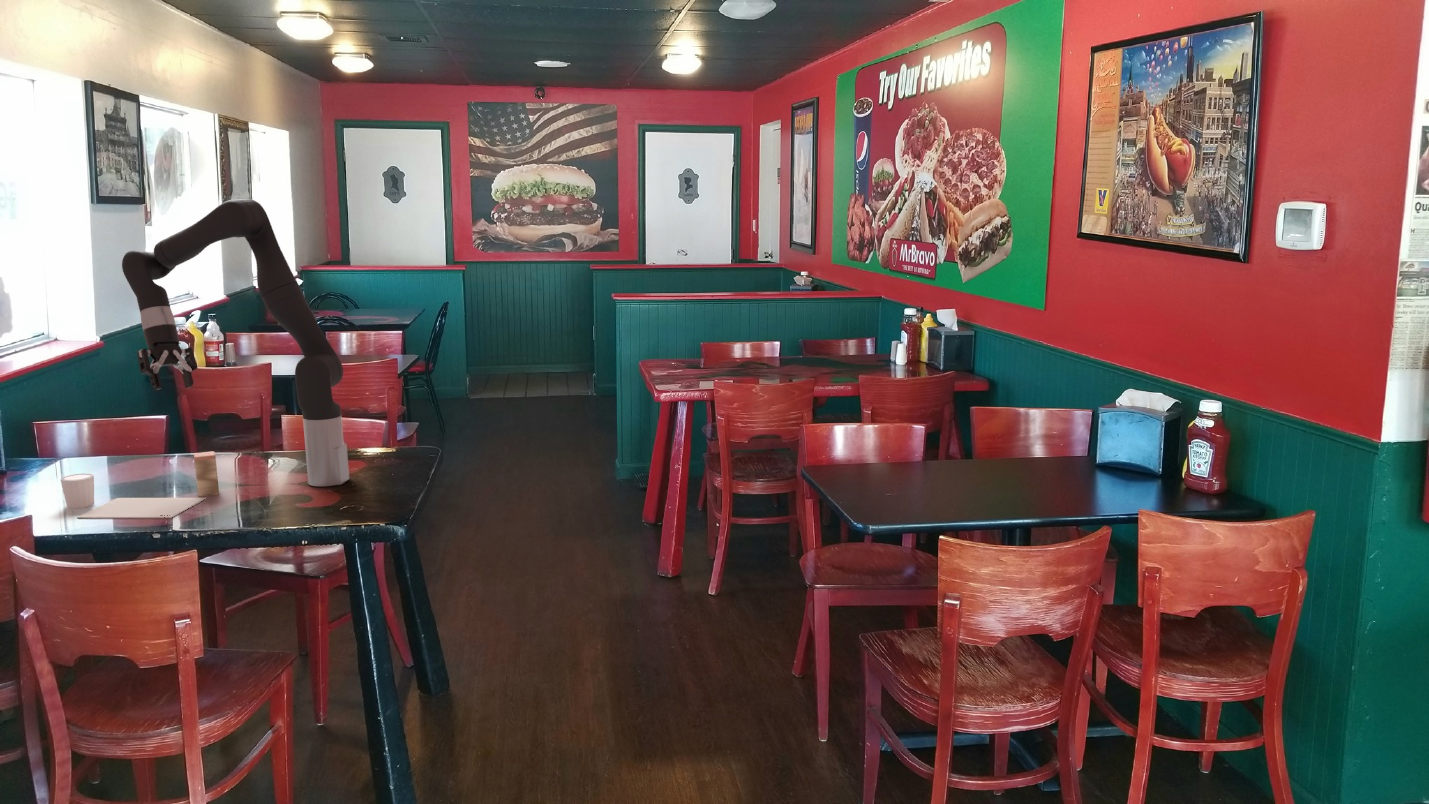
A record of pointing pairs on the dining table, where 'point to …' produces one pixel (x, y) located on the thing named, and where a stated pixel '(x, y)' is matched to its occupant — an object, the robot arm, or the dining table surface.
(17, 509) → the dining table surface
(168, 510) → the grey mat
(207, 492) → the birch block
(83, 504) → the beige tapered cup
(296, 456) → the dining table surface
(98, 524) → the dining table surface
